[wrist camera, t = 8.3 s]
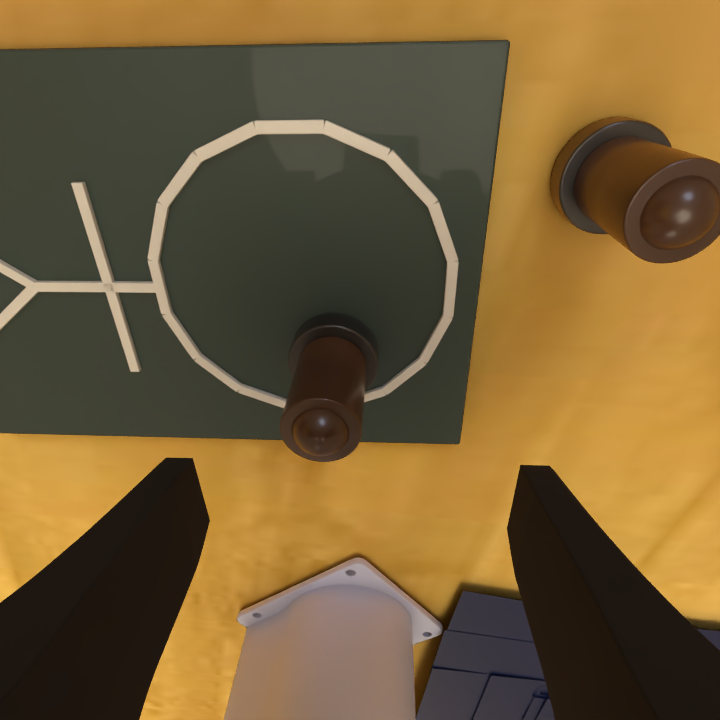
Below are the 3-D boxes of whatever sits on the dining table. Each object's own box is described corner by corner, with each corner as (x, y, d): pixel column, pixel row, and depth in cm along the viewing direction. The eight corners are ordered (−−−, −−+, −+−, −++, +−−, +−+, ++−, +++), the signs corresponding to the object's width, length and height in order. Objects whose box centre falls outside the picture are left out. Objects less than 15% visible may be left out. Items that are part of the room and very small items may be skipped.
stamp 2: (578, 244, 16) (649, 314, 12) (531, 165, 15) (590, 208, 10) (675, 183, 15) (794, 234, 11) (633, 90, 14) (748, 105, 9)
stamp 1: (330, 399, 19) (313, 501, 15) (274, 344, 18) (237, 436, 13) (395, 358, 18) (397, 455, 13) (340, 295, 17) (322, 379, 12)
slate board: (9, 422, 22) (-7, 436, 21) (-179, 53, 14) (-214, 52, 13) (457, 432, 21) (460, 448, 20) (504, 41, 13) (512, 39, 12)
